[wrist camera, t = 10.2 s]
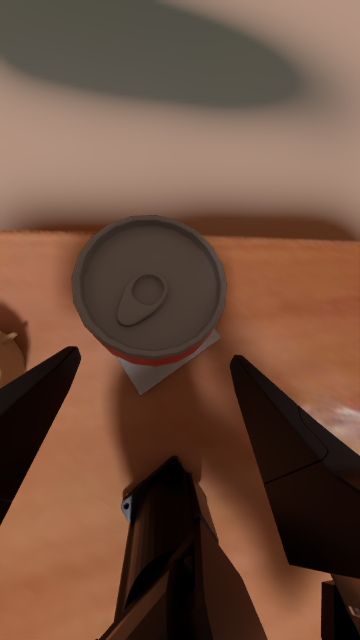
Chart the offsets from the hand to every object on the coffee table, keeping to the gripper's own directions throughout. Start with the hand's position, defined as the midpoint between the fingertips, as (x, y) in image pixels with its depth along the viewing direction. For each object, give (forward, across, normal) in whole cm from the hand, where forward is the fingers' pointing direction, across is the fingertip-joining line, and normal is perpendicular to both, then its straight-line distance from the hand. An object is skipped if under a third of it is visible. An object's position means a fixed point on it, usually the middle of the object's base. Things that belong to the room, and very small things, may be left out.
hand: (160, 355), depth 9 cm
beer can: (+8, 0, +4) cm, 9 cm away
